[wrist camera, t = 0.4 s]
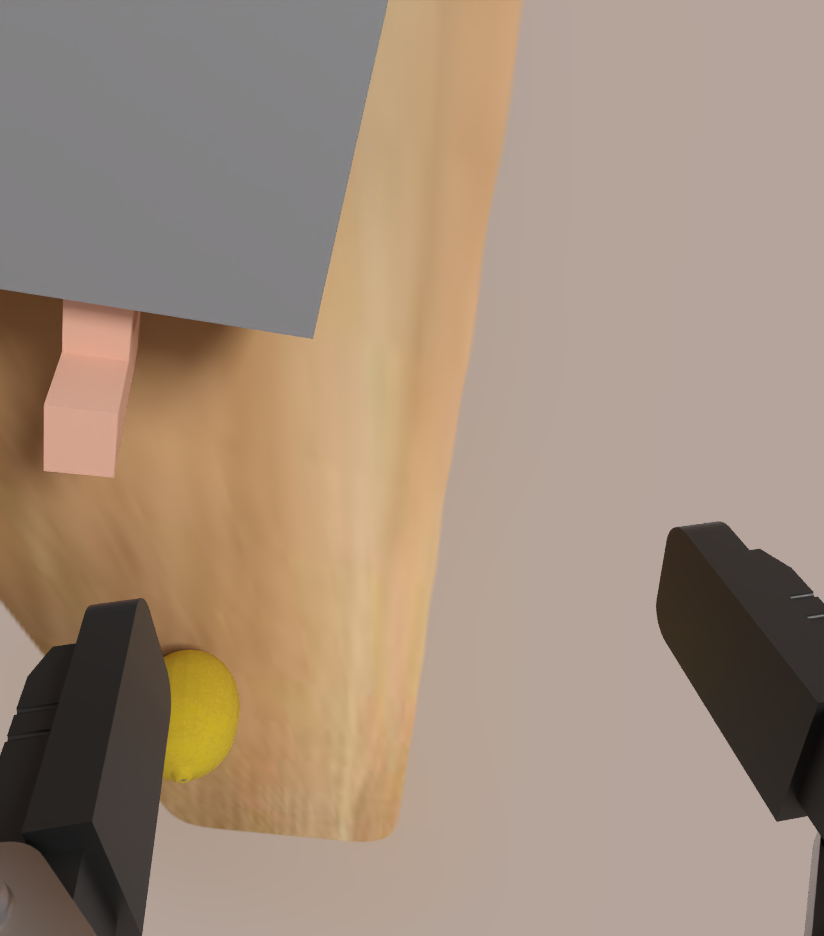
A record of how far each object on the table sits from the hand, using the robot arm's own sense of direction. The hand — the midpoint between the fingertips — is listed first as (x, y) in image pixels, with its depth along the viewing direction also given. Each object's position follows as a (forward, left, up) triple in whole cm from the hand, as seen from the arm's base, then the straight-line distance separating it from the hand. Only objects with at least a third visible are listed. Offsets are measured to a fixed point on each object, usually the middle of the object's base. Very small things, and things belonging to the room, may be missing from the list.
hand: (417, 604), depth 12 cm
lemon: (+28, -1, -22) cm, 36 cm away
